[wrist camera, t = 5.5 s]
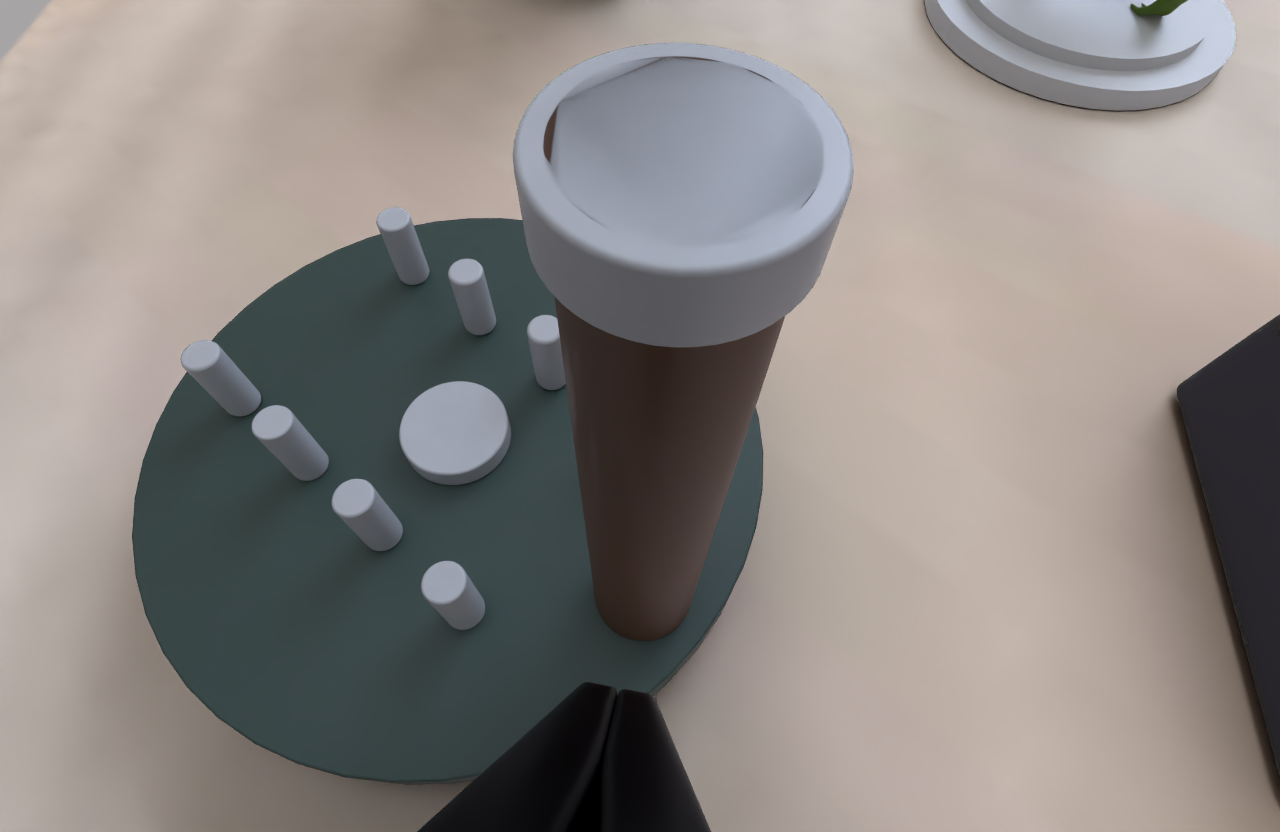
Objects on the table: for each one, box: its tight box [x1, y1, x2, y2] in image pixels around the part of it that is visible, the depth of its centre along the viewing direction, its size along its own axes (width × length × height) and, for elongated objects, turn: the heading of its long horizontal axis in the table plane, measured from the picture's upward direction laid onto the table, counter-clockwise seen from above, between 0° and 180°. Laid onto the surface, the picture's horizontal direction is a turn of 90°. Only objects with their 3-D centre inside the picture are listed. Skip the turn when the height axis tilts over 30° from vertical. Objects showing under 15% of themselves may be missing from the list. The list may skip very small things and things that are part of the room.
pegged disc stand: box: [132, 43, 853, 785], centre depth 12 cm, size 14×14×12 cm
